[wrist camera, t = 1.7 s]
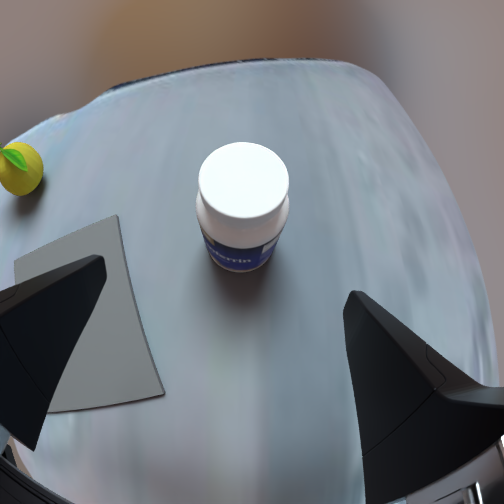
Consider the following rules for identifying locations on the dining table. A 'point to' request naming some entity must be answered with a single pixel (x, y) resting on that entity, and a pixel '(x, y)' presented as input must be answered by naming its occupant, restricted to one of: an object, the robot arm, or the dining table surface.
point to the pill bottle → (242, 204)
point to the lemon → (20, 168)
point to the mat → (100, 324)
